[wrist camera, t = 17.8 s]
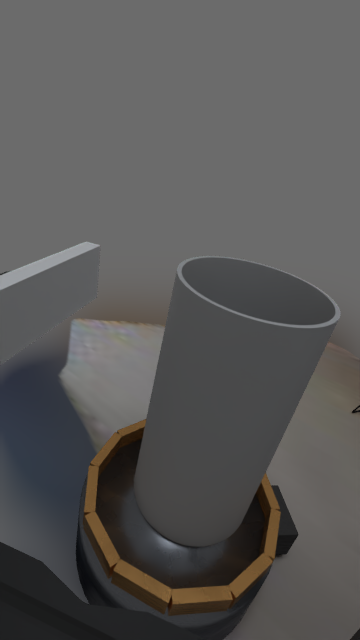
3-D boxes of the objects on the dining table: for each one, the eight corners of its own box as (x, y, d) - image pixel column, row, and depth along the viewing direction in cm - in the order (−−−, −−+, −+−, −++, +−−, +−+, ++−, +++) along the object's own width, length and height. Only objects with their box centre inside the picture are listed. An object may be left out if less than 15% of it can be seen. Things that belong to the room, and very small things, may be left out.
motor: (248, 461, 52) (266, 418, 48) (313, 641, 34) (352, 597, 30) (86, 459, 47) (90, 410, 42) (60, 669, 29) (65, 621, 24)
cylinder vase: (110, 510, 34) (148, 282, 22) (162, 430, 45) (207, 246, 33) (227, 577, 31) (342, 352, 19) (254, 473, 41) (339, 287, 30)
